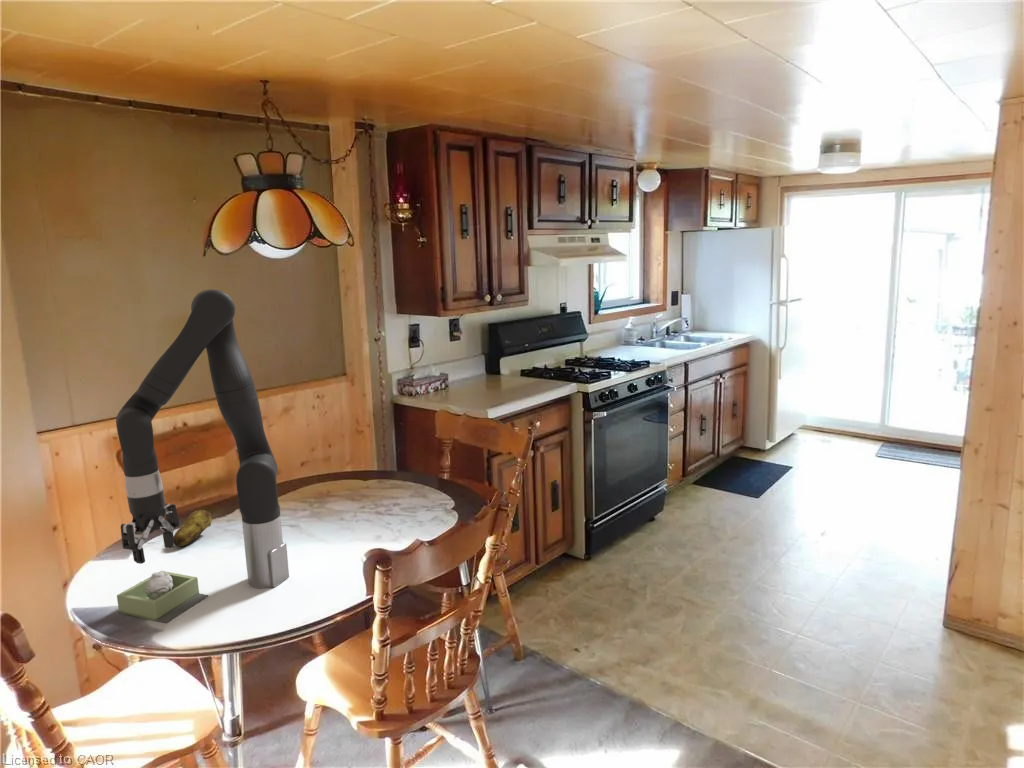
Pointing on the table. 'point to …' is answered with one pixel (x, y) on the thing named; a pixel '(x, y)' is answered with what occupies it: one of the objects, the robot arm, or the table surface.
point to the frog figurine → (158, 585)
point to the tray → (161, 599)
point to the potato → (192, 527)
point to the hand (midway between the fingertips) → (155, 554)
